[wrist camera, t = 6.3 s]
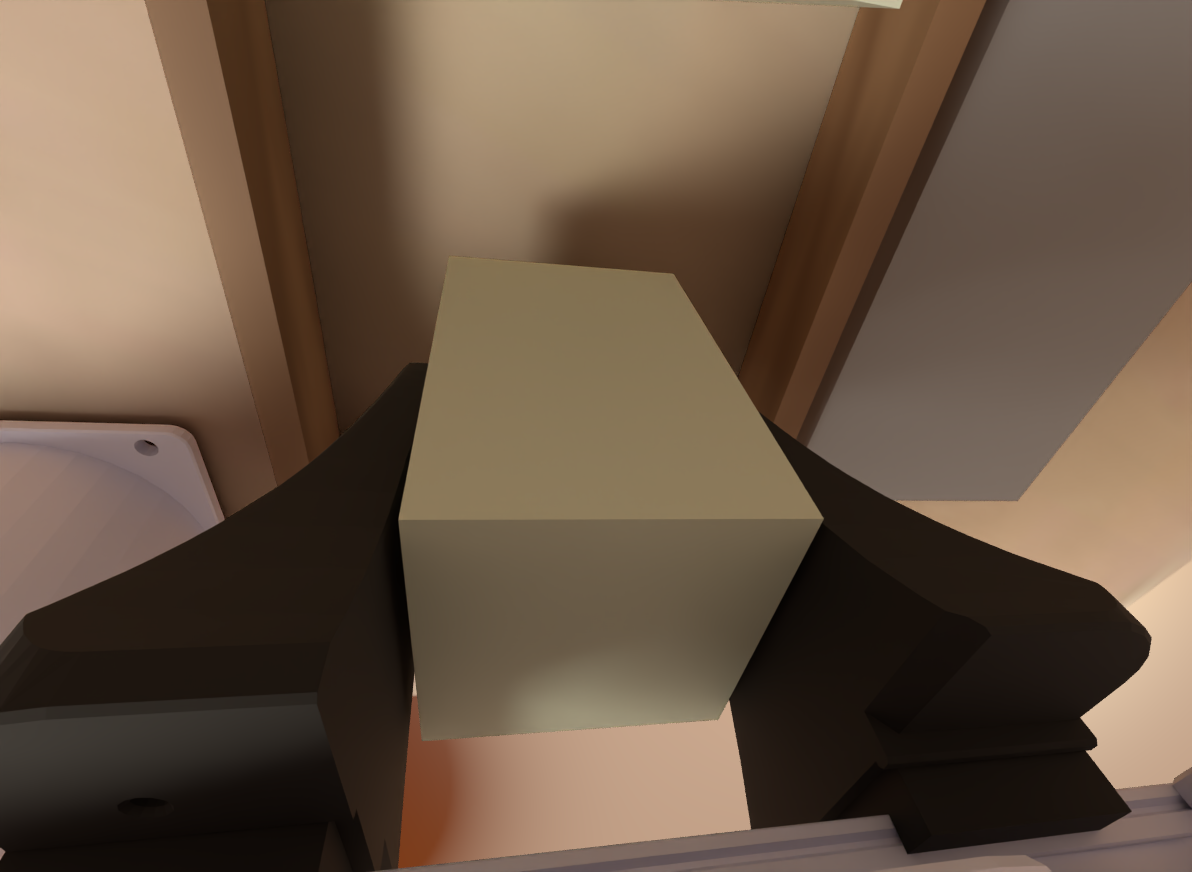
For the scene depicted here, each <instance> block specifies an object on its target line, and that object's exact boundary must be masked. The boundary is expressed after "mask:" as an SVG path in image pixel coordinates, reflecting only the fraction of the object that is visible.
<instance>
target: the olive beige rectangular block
mask: <svg viewBox="0 0 1192 872" xmlns="http://www.w3.org/2000/svg"><path fill="white" fill-rule="evenodd" d="M823 519H824V518H823V517H822V515H821V513H820V512H819V510H818V508H817V507H816V505H815V503H814V502H813V500H812V499H811V497H810V495H809V494H808V492H807V490H806V489H805V487H804V486H803V484H802V482H801V481H800V479H799V477H798V476H797V474H796V473H795V471H794V469H793V468H792V466H791V464H790V463H789V461H788V460H787V458H786V456H785V455H784V453H783V451H782V450H781V448H780V446H779V445H778V443H777V442H776V440H775V438H774V437H773V435H772V433H771V432H770V430H769V429H768V427H767V425H766V424H765V422H764V420H763V419H762V417H761V416H760V414H759V412H758V411H757V409H756V407H755V406H754V404H753V403H752V401H751V399H750V398H749V396H748V394H747V393H746V391H745V389H744V388H743V386H742V385H741V383H740V381H739V380H738V378H737V376H736V375H735V373H734V372H733V370H732V368H731V367H730V365H729V363H728V362H727V360H726V359H725V357H724V355H723V354H722V352H721V350H720V349H719V347H718V345H717V344H716V342H715V341H714V339H713V337H712V336H711V334H710V332H709V331H708V329H707V328H706V326H705V324H704V323H703V321H702V319H701V318H700V316H699V315H698V313H697V311H696V310H695V308H694V306H693V305H692V303H691V302H690V300H689V298H688V297H687V295H686V293H685V292H684V290H683V288H682V287H681V285H680V284H679V282H678V280H677V279H676V277H675V275H674V274H671V273H659V272H647V271H634V270H622V269H609V268H597V267H584V266H572V265H560V264H547V263H535V262H522V261H510V260H498V259H485V258H473V257H460V256H449V259H448V264H447V269H446V275H445V280H444V285H443V290H442V295H441V301H440V306H439V311H438V316H437V321H436V327H435V332H434V337H433V342H432V347H431V353H430V358H429V363H428V368H427V373H426V379H425V384H424V389H423V394H422V399H421V405H420V410H419V415H418V420H417V425H416V431H415V436H414V441H413V446H412V451H411V457H410V462H409V467H408V472H407V477H406V483H405V488H404V493H403V498H402V503H401V509H400V514H399V519H398V522H399V531H400V540H401V550H402V559H403V568H404V578H405V587H406V596H407V606H408V615H409V624H410V634H411V643H412V653H413V662H414V671H415V681H416V690H417V699H418V709H419V718H420V727H421V736H422V741H430V740H444V739H458V738H472V737H485V736H499V735H512V734H527V733H540V732H555V731H569V730H582V729H596V728H611V727H624V726H637V725H652V724H666V723H680V722H695V721H709V720H718V719H719V717H720V715H721V713H722V712H723V710H724V708H725V706H726V704H727V702H728V700H729V698H730V696H731V695H732V693H733V691H734V689H735V687H736V685H737V683H738V681H739V679H740V677H741V675H742V674H743V672H744V670H745V668H746V666H747V664H748V662H749V660H750V658H751V656H752V655H753V653H754V651H755V649H756V647H757V645H758V643H759V641H760V639H761V637H762V636H763V634H764V632H765V630H766V628H767V626H768V624H769V622H770V620H771V618H772V617H773V615H774V613H775V611H776V609H777V607H778V605H779V603H780V601H781V599H782V597H783V596H784V594H785V592H786V590H787V588H788V586H789V584H790V582H791V580H792V578H793V577H794V575H795V573H796V571H797V569H798V567H799V565H800V563H801V561H802V559H803V558H804V556H805V554H806V552H807V550H808V548H809V546H810V544H811V542H812V540H813V538H814V537H815V535H816V533H817V531H818V529H819V527H820V525H821V523H822V521H823Z"/></svg>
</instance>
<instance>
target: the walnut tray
mask: <svg viewBox="0 0 1192 872" xmlns="http://www.w3.org/2000/svg"><path fill="white" fill-rule="evenodd" d="M985 2H986V0H903V1H902V3H901V6H900V9H892V8H870V7H860V9H859V12H858V15H857V18H856V21H855V24H854V27H853V30H852V33H851V36H850V39H849V42H848V45H847V48H846V51H845V54H844V57H843V60H842V63H841V66H840V70H839V73H838V76H837V79H836V82H835V85H834V88H833V91H832V94H831V97H830V100H829V103H828V106H827V109H826V112H825V115H824V118H823V121H822V124H821V127H820V130H819V133H818V136H817V139H816V142H815V145H814V148H813V151H812V154H811V158H810V161H809V164H808V167H807V170H806V173H805V176H804V179H803V182H802V185H801V188H800V191H799V194H798V197H797V200H796V203H795V206H794V209H793V212H792V215H791V218H790V221H789V224H788V227H787V230H786V233H785V236H784V239H783V243H782V246H781V249H780V252H779V255H778V258H777V261H776V264H775V267H774V270H773V273H772V276H771V279H770V282H769V285H768V288H767V291H766V294H765V297H764V300H763V303H762V306H761V309H760V312H759V315H758V318H757V321H756V324H755V327H754V331H753V334H752V337H751V340H750V343H749V346H748V349H747V352H746V355H745V358H744V361H743V364H742V367H741V370H740V373H739V376H738V380H739V381H740V383H741V385H742V386H743V388H744V389H745V391H746V393H747V394H748V396H749V398H750V399H751V401H752V403H753V404H754V406H755V407H756V409H757V410H758V411H759V412H760V413H761V414H763V415H764V416H765V417H767V418H768V419H769V420H770V421H772V422H773V423H774V424H776V425H777V426H778V427H780V428H781V429H782V430H784V431H785V432H786V433H788V434H789V435H790V436H792V437H793V438H794V439H796V438H797V436H798V433H799V431H800V429H801V426H802V424H803V422H804V420H805V417H806V415H807V413H808V410H809V408H810V406H811V403H812V401H813V399H814V396H815V394H816V392H817V390H818V387H819V385H820V383H821V380H822V378H823V376H824V373H825V371H826V369H827V367H828V364H829V362H830V360H831V357H832V355H833V353H834V350H835V348H836V346H837V343H838V341H839V339H840V337H841V334H842V332H843V330H844V327H845V325H846V323H847V320H848V318H849V316H850V313H851V311H852V309H853V307H854V304H855V302H856V300H857V297H858V295H859V293H860V290H861V288H862V286H863V284H864V281H865V279H866V277H867V274H868V272H869V270H870V267H871V265H872V263H873V260H874V258H875V256H876V254H877V251H878V249H879V247H880V244H881V242H882V240H883V237H884V235H885V233H886V230H887V228H888V226H889V224H890V221H891V219H892V217H893V214H894V212H895V210H896V207H897V205H898V203H899V201H900V198H901V196H902V194H903V191H904V189H905V187H906V184H907V182H908V180H909V177H910V175H911V173H912V171H913V168H914V166H915V164H916V161H917V159H918V157H919V154H920V152H921V150H922V147H923V145H924V143H925V141H926V138H927V136H928V134H929V131H930V129H931V127H932V124H933V122H934V120H935V118H936V115H937V113H938V111H939V108H940V106H941V104H942V101H943V99H944V97H945V94H946V92H947V90H948V88H949V85H950V83H951V81H952V78H953V76H954V74H955V71H956V69H957V67H958V64H959V62H960V60H961V58H962V55H963V53H964V51H965V48H966V46H967V44H968V41H969V39H970V37H971V35H972V32H973V30H974V28H975V25H976V23H977V21H978V18H979V16H980V14H981V11H982V9H983V7H984V5H985ZM145 4H146V7H147V11H148V15H149V18H150V22H151V26H152V29H153V33H154V36H155V40H156V44H157V47H158V51H159V55H160V58H161V62H162V66H163V69H164V73H165V77H166V80H167V84H168V88H169V91H170V95H171V99H172V102H173V106H174V110H175V113H176V117H177V121H178V124H179V128H180V131H181V135H182V139H183V142H184V146H185V150H186V153H187V157H188V161H189V164H190V168H191V172H192V175H193V179H194V183H195V186H196V190H197V194H198V197H199V201H200V205H201V208H202V212H203V215H204V219H205V223H206V226H207V230H208V234H209V237H210V241H211V245H212V248H213V252H214V256H215V259H216V263H217V267H218V270H219V274H220V278H221V281H222V285H223V289H224V292H225V296H226V300H227V303H228V307H229V310H230V314H231V318H232V321H233V325H234V329H235V332H236V336H237V340H238V343H239V347H240V351H241V354H242V358H243V362H244V365H245V369H246V373H247V376H248V380H249V384H250V387H251V391H252V395H253V398H254V402H255V405H256V409H257V413H258V416H259V420H260V424H261V427H262V431H263V435H264V438H265V442H266V446H267V449H268V453H269V457H270V460H271V464H272V468H273V471H274V475H275V479H276V482H277V486H279V485H281V484H282V483H284V482H285V481H286V480H288V479H289V478H290V477H292V476H293V475H295V474H296V473H297V472H299V471H300V470H301V469H303V468H304V467H305V466H306V465H308V464H309V463H310V462H311V461H312V460H314V459H315V458H316V457H317V456H319V455H320V454H321V453H322V452H323V451H324V450H325V449H327V448H328V447H329V446H330V445H331V444H332V443H333V442H334V441H335V440H337V439H338V438H339V437H340V434H339V428H338V423H337V417H336V411H335V405H334V399H333V394H332V388H331V382H330V376H329V371H328V365H327V359H326V353H325V347H324V342H323V336H322V330H321V324H320V318H319V313H318V307H317V301H316V295H315V290H314V284H313V278H312V272H311V266H310V261H309V255H308V249H307V243H306V238H305V232H304V226H303V220H302V214H301V209H300V203H299V197H298V191H297V186H296V180H295V174H294V168H293V162H292V157H291V151H290V145H289V139H288V133H287V128H286V122H285V116H284V110H283V105H282V99H281V93H280V87H279V81H278V76H277V70H276V64H275V58H274V53H273V47H272V41H271V35H270V29H269V24H268V18H267V12H266V6H265V1H264V0H145Z"/></svg>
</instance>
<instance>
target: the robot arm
mask: <svg viewBox="0 0 1192 872" xmlns="http://www.w3.org/2000/svg"><path fill="white" fill-rule="evenodd" d="M427 368H428V363H409V364H408V365H407V366H406V367H405V368H404V369H403V370H402V371H401V372H400V373H399V375H398V376H397V377H396V378H395V379H394V381H393V382H392V383H391V384H390V385H389V387H388V388H387V389H386V390H385V391H384V392H383V393H382V394H381V396H380V397H379V398H378V399H377V400H376V401H375V402H374V403H373V404H372V405H371V406H370V407H369V408H368V409H367V410H366V411H365V413H364V414H363V415H362V416H361V417H360V418H359V419H358V420H357V421H356V422H355V423H354V424H353V425H352V426H351V427H350V428H349V429H348V430H346V431H345V432H344V433H343V434H342V435H341V436H340V437H339V438H338V439H337V440H335V441H334V442H333V443H332V444H331V445H330V446H329V447H328V448H327V449H325V450H324V451H323V452H322V453H321V454H320V455H319V456H317V457H316V458H315V459H314V460H312V461H311V462H310V463H309V464H308V465H306V466H305V467H304V468H303V469H301V470H300V471H299V472H297V473H296V474H295V475H293V476H292V477H290V478H289V479H288V480H286V481H285V482H284V483H282V484H281V485H279V486H278V487H276V488H275V489H273V490H272V491H270V492H269V493H267V494H266V495H264V496H262V497H261V498H259V499H258V500H256V501H254V502H253V503H251V504H250V505H248V506H246V507H245V508H243V509H241V510H240V511H238V512H237V513H235V514H233V515H232V516H230V517H229V518H227V519H224V516H223V513H222V510H221V508H220V505H219V502H218V500H217V497H216V494H215V491H214V489H213V486H212V483H211V480H210V478H209V475H208V472H207V469H206V467H205V464H204V461H203V459H202V456H201V453H200V450H199V448H198V445H197V442H196V440H195V438H194V437H193V435H192V434H191V433H189V432H188V431H187V430H185V429H183V428H181V427H178V426H174V425H161V424H122V423H84V422H45V421H6V420H0V872H1192V767H1191V768H1190V769H1188V770H1186V771H1185V772H1183V773H1182V774H1180V775H1178V776H1177V777H1176V778H1174V781H1173V783H1169V784H1159V785H1150V786H1141V787H1132V788H1123V789H1115V788H1114V787H1113V786H1112V785H1111V783H1110V782H1109V781H1108V780H1107V778H1106V777H1105V775H1104V774H1103V773H1102V772H1101V770H1100V769H1099V768H1098V766H1097V765H1096V764H1095V762H1094V761H1093V760H1092V759H1091V757H1090V756H1089V755H1088V753H1087V752H1086V750H1092V749H1093V748H1095V747H1096V746H1097V739H1096V737H1095V736H1094V735H1093V733H1092V732H1091V731H1090V729H1089V728H1088V727H1087V726H1086V724H1085V723H1084V722H1083V721H1082V720H1081V718H1080V717H1081V716H1083V715H1084V714H1085V713H1086V712H1088V711H1089V710H1090V709H1092V708H1093V707H1094V706H1095V705H1096V704H1098V703H1099V702H1100V701H1102V700H1103V699H1104V698H1106V697H1107V696H1108V695H1109V694H1111V693H1112V692H1113V691H1115V690H1116V689H1117V688H1119V687H1120V686H1121V685H1122V684H1124V683H1125V682H1126V681H1127V680H1128V679H1129V678H1130V677H1132V675H1134V674H1135V673H1136V672H1137V671H1138V670H1139V669H1140V668H1141V666H1142V665H1143V663H1144V662H1145V661H1146V659H1147V658H1148V656H1149V651H1150V645H1151V636H1150V635H1149V633H1148V631H1147V630H1146V628H1145V627H1144V626H1143V625H1142V624H1141V623H1140V622H1139V621H1138V620H1137V619H1136V618H1135V617H1134V616H1133V615H1132V614H1130V613H1129V611H1128V610H1126V608H1125V607H1124V606H1123V605H1122V604H1121V603H1120V602H1119V601H1118V600H1117V599H1116V598H1114V597H1113V596H1112V595H1111V594H1110V593H1109V592H1108V591H1107V590H1106V589H1105V588H1104V587H1102V586H1101V585H1099V584H1098V583H1096V582H1093V581H1090V580H1087V579H1084V578H1081V577H1078V576H1075V575H1073V574H1070V573H1067V572H1064V571H1061V570H1058V569H1055V568H1052V567H1049V566H1047V565H1044V564H1041V563H1038V562H1035V561H1032V560H1029V559H1026V558H1023V557H1020V556H1018V555H1015V554H1012V553H1010V552H1007V551H1005V550H1002V549H1000V548H997V547H995V546H992V545H990V544H988V543H985V542H983V541H980V540H978V539H975V538H973V537H970V536H968V535H966V534H963V533H961V532H959V531H956V530H954V529H952V528H950V527H947V526H945V525H943V524H941V523H938V522H936V521H934V520H932V519H930V518H928V517H926V516H924V515H922V514H920V513H918V512H916V511H914V510H912V509H910V508H908V507H906V506H904V505H902V504H900V503H898V502H896V501H894V500H892V499H890V498H888V497H886V496H884V495H883V494H881V493H879V492H877V491H875V490H874V489H872V488H870V487H869V486H867V485H865V484H863V483H862V482H860V481H858V480H857V479H855V478H853V477H851V476H850V475H848V474H846V473H845V472H843V471H842V470H840V469H838V468H837V467H835V466H834V465H832V464H830V463H829V462H827V461H826V460H825V459H823V458H822V457H820V456H819V455H817V454H816V453H814V452H813V451H811V450H810V449H808V448H807V447H806V446H804V445H803V444H801V443H800V442H799V441H797V440H796V439H794V438H793V437H792V436H790V435H789V434H788V433H786V432H785V431H784V430H782V429H781V428H780V427H778V426H777V425H776V424H774V423H773V422H772V421H770V420H769V419H768V418H767V417H765V416H764V415H763V414H761V413H760V412H759V411H758V410H757V411H758V412H759V414H760V416H761V417H762V419H763V420H764V422H765V424H766V425H767V427H768V429H769V430H770V432H771V433H772V435H773V437H774V438H775V440H776V442H777V443H778V445H779V446H780V448H781V450H782V451H783V453H784V455H785V456H786V458H787V460H788V461H789V463H790V464H791V466H792V468H793V469H794V471H795V473H796V474H797V476H798V477H799V479H800V481H801V482H802V484H803V486H804V487H805V489H806V490H807V492H808V494H809V495H810V497H811V499H812V500H813V502H814V503H815V505H816V507H817V508H818V510H819V512H820V513H821V515H822V517H823V518H824V519H823V521H822V523H821V525H820V527H819V529H818V531H817V533H816V535H815V537H814V538H813V540H812V542H811V544H810V546H809V548H808V550H807V552H806V554H805V556H804V558H803V559H802V561H801V563H800V565H799V567H798V569H797V571H796V573H795V575H794V577H793V578H792V580H791V582H790V584H789V586H788V588H787V590H786V592H785V594H784V596H783V597H782V599H781V601H780V603H779V605H778V607H777V609H776V611H775V613H774V615H773V617H772V618H771V620H770V622H769V624H768V626H767V628H766V630H765V632H764V634H763V636H762V637H761V639H760V641H759V643H758V645H757V647H756V649H755V651H754V653H753V655H752V656H751V658H750V660H749V662H748V664H747V666H746V668H745V670H744V672H743V674H742V675H741V677H740V679H739V681H738V683H737V685H736V687H735V689H734V691H733V693H732V695H731V696H730V698H729V701H730V706H731V711H732V716H733V722H734V728H735V733H736V738H737V744H738V749H739V755H740V759H741V766H742V773H743V779H744V785H745V792H746V798H747V805H748V811H749V817H750V824H751V830H744V831H735V832H725V833H716V834H707V835H698V836H690V837H680V838H672V839H662V840H653V841H644V842H636V843H626V844H617V845H608V846H599V847H590V848H581V849H572V850H563V851H554V852H545V853H536V854H527V855H518V856H509V857H500V858H491V859H482V860H473V861H463V862H454V863H446V864H436V865H428V866H418V867H410V868H401V869H398V861H399V847H400V834H401V821H402V809H403V795H404V784H405V772H406V760H407V748H408V736H409V725H410V714H411V703H412V693H413V682H414V662H413V653H412V643H411V634H410V624H409V615H408V606H407V596H406V587H405V578H404V568H403V559H402V550H401V540H400V531H399V522H398V519H399V514H400V509H401V503H402V498H403V493H404V488H405V483H406V477H407V472H408V467H409V462H410V457H411V451H412V446H413V441H414V436H415V431H416V425H417V420H418V415H419V410H420V405H421V399H422V394H423V389H424V384H425V379H426V373H427ZM144 440H147V441H150V442H152V443H154V444H155V445H156V446H152V445H150V444H148V443H146V442H145V441H144Z"/></svg>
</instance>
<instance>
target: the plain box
mask: <svg viewBox="0 0 1192 872" xmlns="http://www.w3.org/2000/svg"><path fill="white" fill-rule="evenodd" d="M715 1H737V2H759V3H781V4H803V5H825V6H848V7H870V8H892V9H900V6H901V3H902V1H903V0H715Z"/></svg>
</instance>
